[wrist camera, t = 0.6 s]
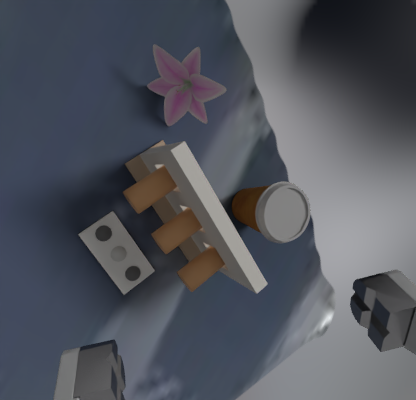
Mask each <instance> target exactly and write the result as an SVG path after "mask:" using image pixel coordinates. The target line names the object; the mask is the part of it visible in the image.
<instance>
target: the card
mask: <svg viewBox="0 0 416 400" xmlns="http://www.w3.org/2000/svg"><path fill="white" fill-rule="evenodd" d="M78 235H79V236H80V238H81V239H82V240H83V242H84V243H85V244H86V246H87V247H88V248H89V250H90V251H91V252H92V254H93V255H94V256H95V258H96V259H97V260H98V261H99V263H100V264H101V265H102V267H103V268H104V269H105V271H106V272H107V273H108V275H109V276H110V277H111V279H112V280H113V281H114V283H115V284H116V285H117V286H118V288H119V289H120V290H121V292H122V293H123V294H124V295H125V294H126V293H127V292H129V291H130V290H131V289H132V288H134V287H135V286H136V285H138V284H139V283H140V282H141V281H143V280H144V279H145V278H147V277H148V276H149V275H151V274H152V273H153V272H154V271H155V270H154V269H153V267H152V266H151V265H150V263H149V262H148V260H147V259H146V257H145V256H144V255H143V253H142V252H141V250H140V249H139V247H138V246H137V245H136V243H135V242H134V240H133V239H132V237H131V236H130V235H129V233H128V232H127V230H126V229H125V228H124V226H123V225H122V223H121V222H120V220H119V219H118V218H117V216H116V215H115V213H114V212H113V211H112V212H110V213H109V214H107V215H106V216H104V217H103V218H101V219H100V220H98V221H97V222H95V223H94V224H92V225H91V226H89V227H88V228H86V229H85V230H83V231H82V232H80V233H79V234H78Z"/></svg>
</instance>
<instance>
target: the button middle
mask: <svg viewBox="0 0 416 400" xmlns="http://www.w3.org/2000/svg"><path fill="white" fill-rule="evenodd" d="M201 228H202V226H201V224H200V222H199V221H198V219H197V218H196V216H195V214H194V213H193V211H192V209H191V208H188V207H187V208H186V209H185V210H183V211H182V212H180V213H179V214H178V215H176V216H175V217H174V218H172V219H171V220H169V221H168V222H167V223H165V224H164V225H162V226H161V227H160V228H158V229H157V230H156V231H154V232H153V233H151V235H152V237H153V239H154V240H155V242H156V243H157V245H158V246H159V247H160V249H161V250H162V251H163V252H164V253H165V254H166V255H167V254H168V253H169V252H171V251H172V250H173V249H175V248H176V247H177V246H179V245H180V244H181V243H182V242H184V241H185V240H186V239H188V238H189V237H190V236H192V235H193V234H194V233H196V232H197V231H198V230H199V229H201Z"/></svg>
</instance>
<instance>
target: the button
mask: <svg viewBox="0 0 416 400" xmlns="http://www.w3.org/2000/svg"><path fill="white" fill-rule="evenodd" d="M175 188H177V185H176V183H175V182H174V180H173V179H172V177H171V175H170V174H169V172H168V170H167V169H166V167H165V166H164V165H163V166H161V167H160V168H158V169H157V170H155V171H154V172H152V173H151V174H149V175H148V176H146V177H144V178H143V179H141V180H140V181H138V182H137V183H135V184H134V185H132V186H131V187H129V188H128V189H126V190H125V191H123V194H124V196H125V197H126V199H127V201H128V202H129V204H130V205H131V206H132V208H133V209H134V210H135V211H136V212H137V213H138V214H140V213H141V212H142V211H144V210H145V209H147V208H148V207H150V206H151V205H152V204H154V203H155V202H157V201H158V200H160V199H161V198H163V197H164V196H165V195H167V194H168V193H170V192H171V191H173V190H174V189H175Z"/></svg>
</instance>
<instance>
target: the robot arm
mask: <svg viewBox="0 0 416 400" xmlns="http://www.w3.org/2000/svg"><path fill="white" fill-rule="evenodd" d="M353 289H354V291H355V293H354V295H353V296H352V297H351V303H350V305H351V310H352V313H353V315H354V317H355V319H356V320H357V322H358V323H359V324H360V325H361V326H363V327H365V328H367V329H368V336H369V338H370V339H371V340H372V341H373V343H374V344H375V345H376V347H377V348H378V349H379V350H380V352H383V351H387V350H391V349H395V348H399V347H403V346H405V348H406V349H407V350H409V351H411V352H412V353H414V354H416V285H415V284H414V283H413V282H411V281H410V280H409V279H408V278H407V277H406V276H405V275H404V274H403V273H401V272H400V271H398V270H393V271H388V272H384V273H379V274H376V275H372V276H368V277H364V278H360V279H356V280H355V281H354V283H353ZM124 389H125V372H124V366H123V361H122V358H121V356H120V355H118V347H117V344H116V342H115V340H110V341H105V342H101V343H96V344H91V345H87V346H82V347H78V348H74V349H70V350H65V351H64V352H63V354H62V355H61V359H60V365H59V371H58V376H57V382H56V387H55V393H54V399H53V400H125V399H124V396H123V393H122V392H123V390H124Z"/></svg>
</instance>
